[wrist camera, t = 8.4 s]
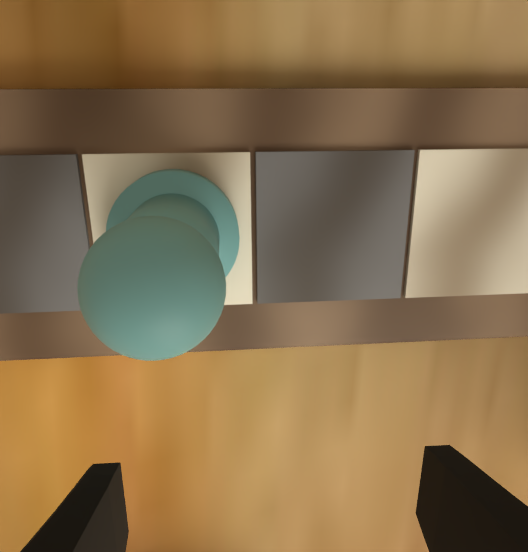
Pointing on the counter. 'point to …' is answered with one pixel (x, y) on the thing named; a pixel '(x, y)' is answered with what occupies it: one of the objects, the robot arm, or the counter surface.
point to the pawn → (160, 266)
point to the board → (280, 209)
